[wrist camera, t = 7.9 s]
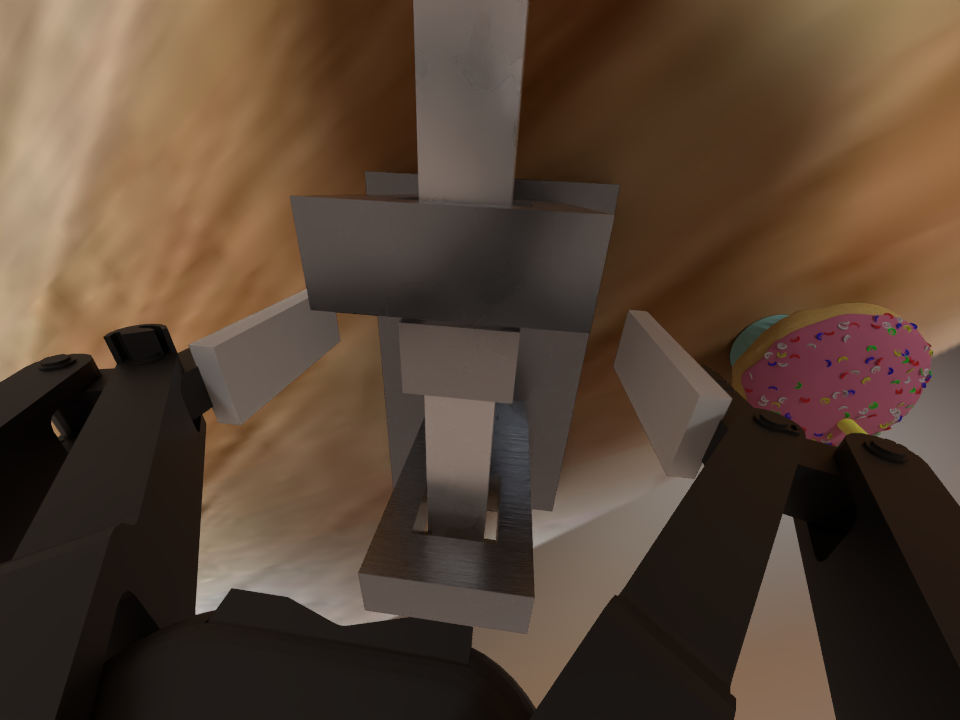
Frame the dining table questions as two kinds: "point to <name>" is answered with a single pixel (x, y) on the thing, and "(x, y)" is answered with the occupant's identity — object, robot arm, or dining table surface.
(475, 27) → the shaft
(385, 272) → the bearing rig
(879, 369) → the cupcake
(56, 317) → the dining table surface
